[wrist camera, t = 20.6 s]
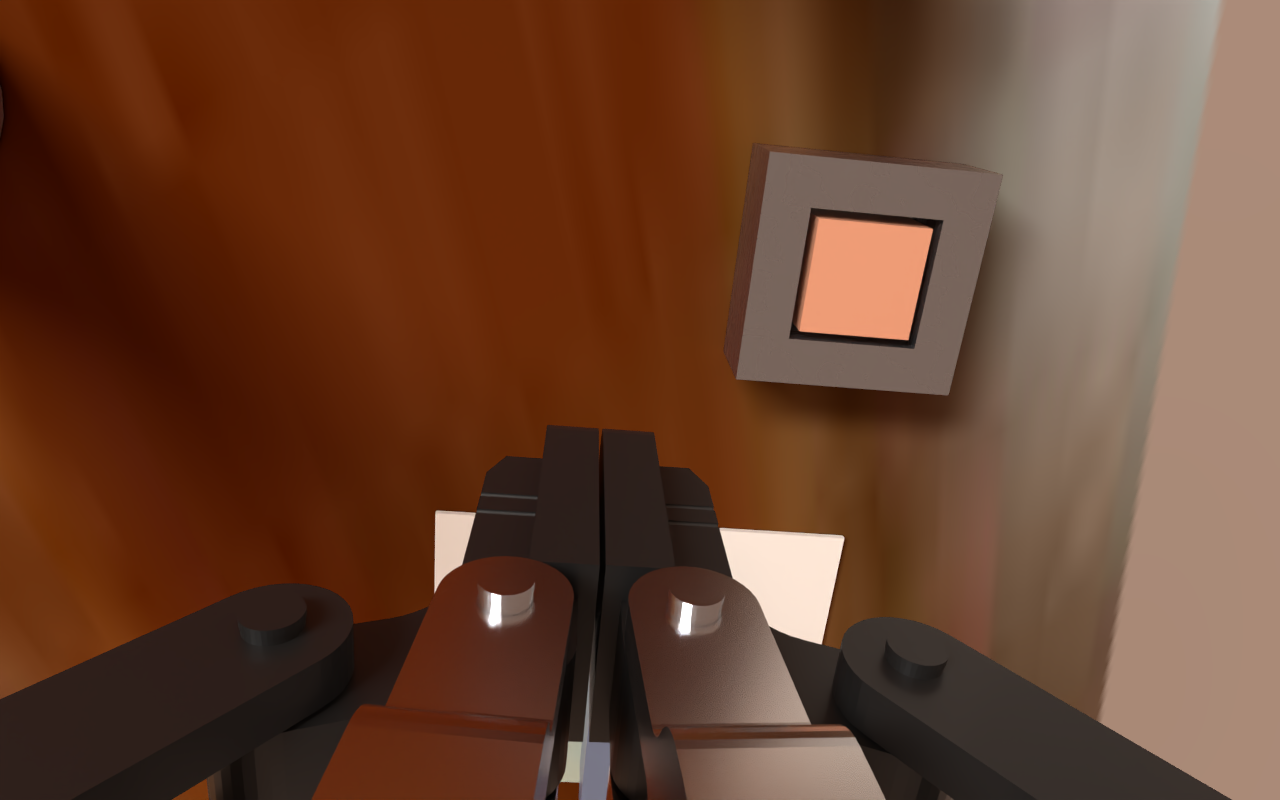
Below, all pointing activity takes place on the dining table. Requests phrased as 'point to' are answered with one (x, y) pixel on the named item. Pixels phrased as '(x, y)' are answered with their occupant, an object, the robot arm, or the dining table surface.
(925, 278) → the button housing
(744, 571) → the paper sheet
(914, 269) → the button cap
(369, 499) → the dining table surface
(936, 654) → the robot arm
